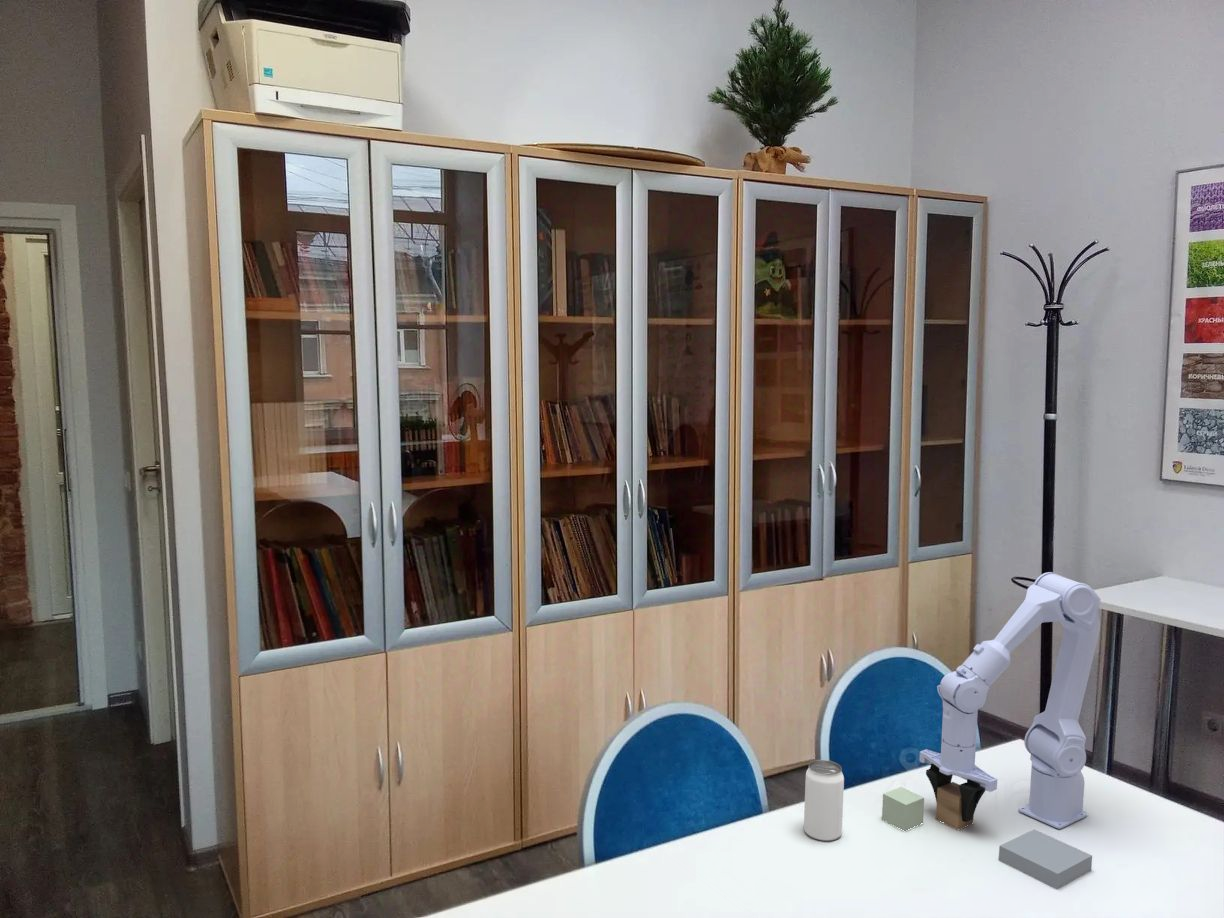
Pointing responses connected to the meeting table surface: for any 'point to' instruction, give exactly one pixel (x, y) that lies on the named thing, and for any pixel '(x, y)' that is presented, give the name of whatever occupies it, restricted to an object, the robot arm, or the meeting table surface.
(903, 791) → the green cube
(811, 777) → the can
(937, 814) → the walnut block
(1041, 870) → the grey block
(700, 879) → the meeting table surface
